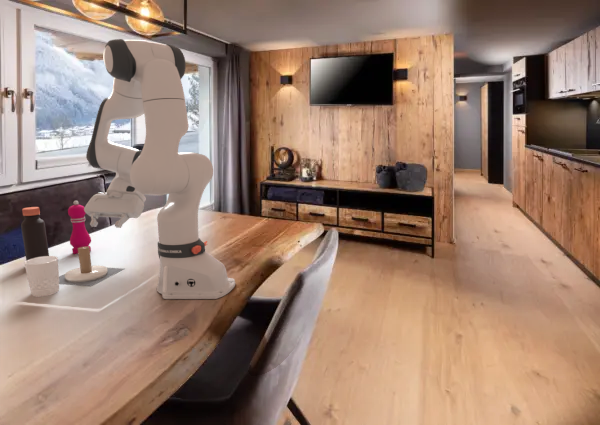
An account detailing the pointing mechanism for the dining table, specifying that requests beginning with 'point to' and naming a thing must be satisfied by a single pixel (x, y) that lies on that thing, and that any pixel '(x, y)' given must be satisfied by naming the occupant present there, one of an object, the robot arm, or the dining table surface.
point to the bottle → (34, 234)
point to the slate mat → (90, 283)
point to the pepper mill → (78, 228)
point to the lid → (85, 268)
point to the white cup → (43, 275)
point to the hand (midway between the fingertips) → (105, 226)
